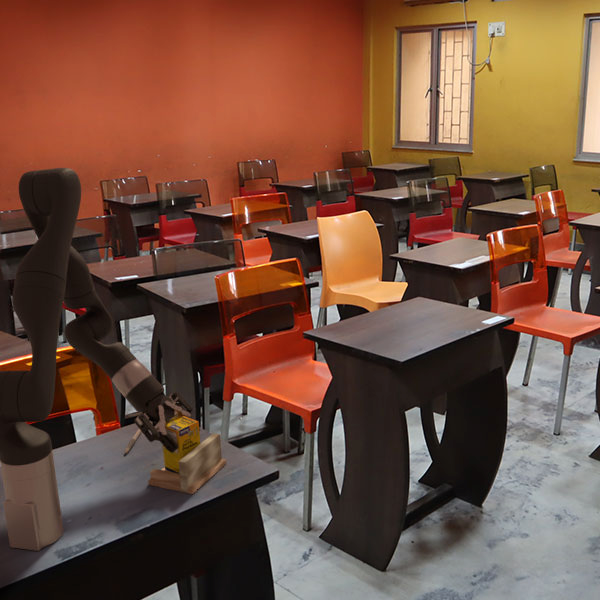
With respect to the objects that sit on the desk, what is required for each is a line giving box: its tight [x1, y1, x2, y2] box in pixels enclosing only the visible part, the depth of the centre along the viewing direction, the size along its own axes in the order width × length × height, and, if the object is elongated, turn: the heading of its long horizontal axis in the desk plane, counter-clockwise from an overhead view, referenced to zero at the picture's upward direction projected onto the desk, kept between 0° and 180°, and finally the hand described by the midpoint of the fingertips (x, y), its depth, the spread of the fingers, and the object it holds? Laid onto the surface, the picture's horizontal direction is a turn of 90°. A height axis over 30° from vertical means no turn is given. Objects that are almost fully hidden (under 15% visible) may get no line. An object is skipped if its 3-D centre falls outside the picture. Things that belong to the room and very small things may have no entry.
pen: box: [124, 428, 143, 454], centre depth 181 cm, size 1×14×1 cm, turn 175°
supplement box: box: [162, 415, 201, 474], centre depth 164 cm, size 6×6×11 cm
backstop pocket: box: [147, 432, 227, 495], centre depth 164 cm, size 14×11×7 cm
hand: (186, 441), depth 163 cm, fingers open, 8 cm apart
